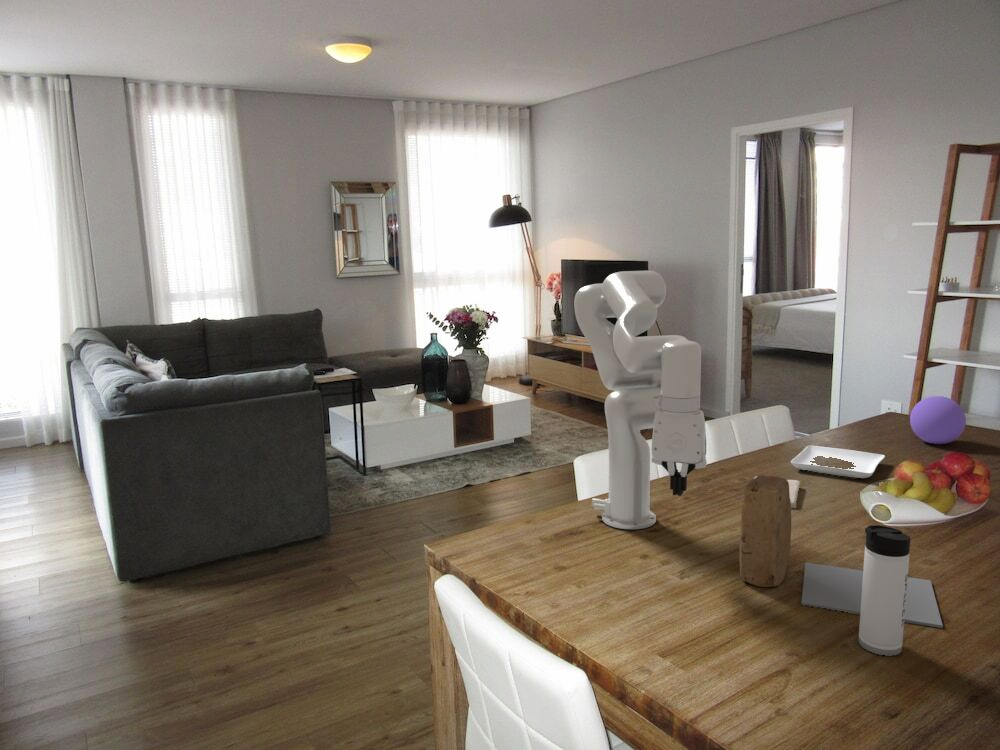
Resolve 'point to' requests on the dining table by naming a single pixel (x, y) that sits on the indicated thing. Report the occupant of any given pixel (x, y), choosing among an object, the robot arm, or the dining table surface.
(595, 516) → the dining table surface
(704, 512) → the dining table surface
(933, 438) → the decorative ball
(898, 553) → the travel mug
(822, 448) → the salad plate
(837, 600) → the mat
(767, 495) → the block
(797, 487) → the washcloth
